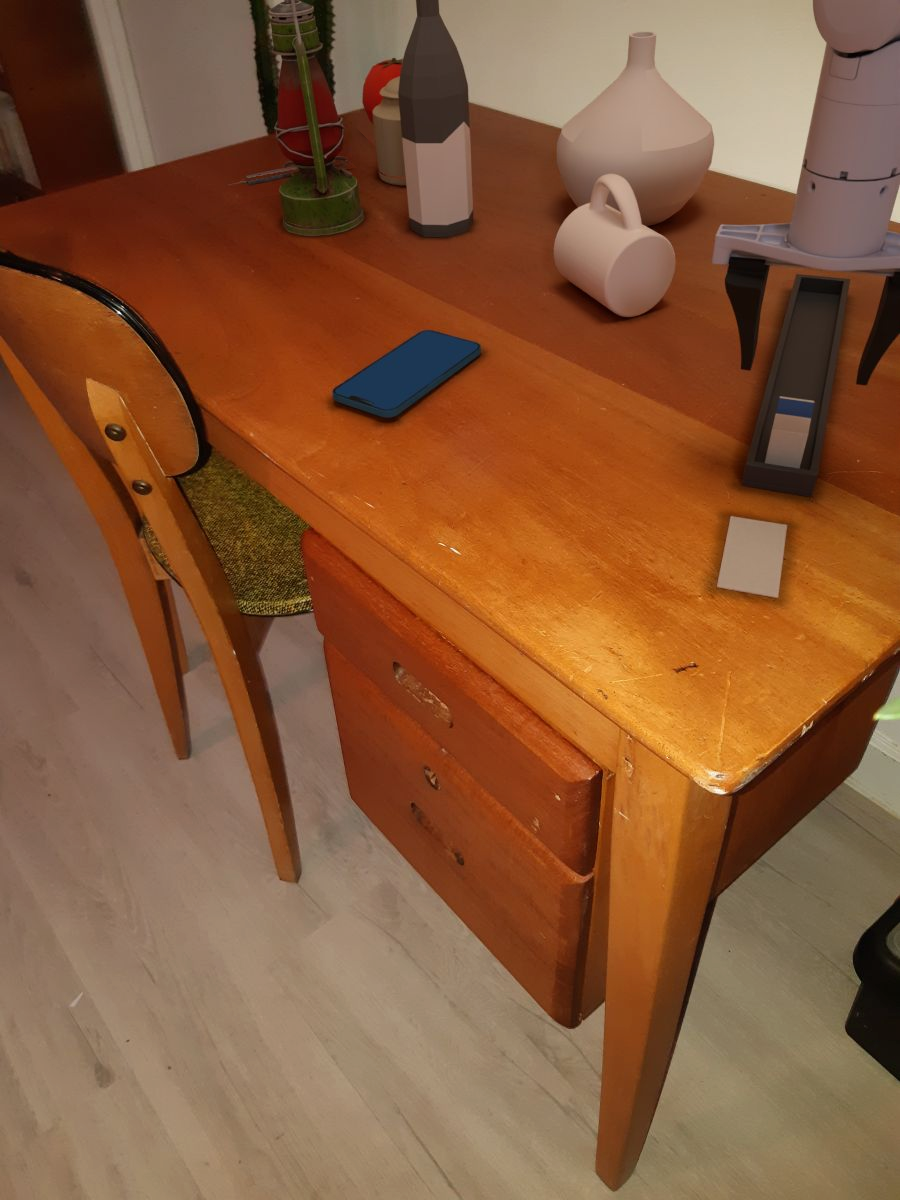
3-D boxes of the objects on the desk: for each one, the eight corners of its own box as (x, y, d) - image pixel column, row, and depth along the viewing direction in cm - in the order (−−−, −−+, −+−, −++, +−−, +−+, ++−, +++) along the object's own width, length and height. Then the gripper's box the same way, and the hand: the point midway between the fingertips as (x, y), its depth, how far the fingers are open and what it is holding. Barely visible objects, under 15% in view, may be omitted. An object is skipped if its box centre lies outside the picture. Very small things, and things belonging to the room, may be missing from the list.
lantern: (373, 232, 110) (338, -66, 90) (289, 246, 109) (233, -54, 88) (354, 196, 120) (319, -80, 99) (277, 207, 119) (225, -70, 98)
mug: (602, 326, 88) (610, 203, 80) (551, 289, 95) (553, 171, 87) (671, 306, 91) (686, 184, 82) (616, 271, 98) (624, 155, 89)
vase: (667, 253, 100) (688, 61, 87) (528, 227, 108) (528, 48, 95) (727, 199, 111) (754, 21, 98) (596, 179, 119) (605, 12, 106)
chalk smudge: (777, 598, 59) (778, 597, 59) (716, 587, 60) (716, 586, 60) (786, 526, 64) (787, 524, 64) (730, 517, 65) (730, 516, 65)
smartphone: (485, 344, 85) (390, 413, 77) (485, 353, 86) (391, 423, 77) (424, 327, 89) (326, 392, 80) (425, 336, 89) (328, 401, 81)
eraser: (798, 473, 68) (808, 434, 66) (762, 467, 69) (771, 428, 66) (805, 438, 71) (815, 400, 69) (771, 433, 72) (779, 395, 70)
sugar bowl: (356, 164, 130) (341, 46, 120) (423, 149, 133) (414, 33, 123) (398, 192, 120) (386, 67, 110) (469, 175, 123) (464, 52, 113)
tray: (811, 497, 67) (817, 475, 65) (741, 485, 68) (745, 464, 67) (845, 297, 90) (850, 278, 88) (792, 292, 91) (796, 273, 90)
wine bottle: (434, 210, 115) (413, -80, 94) (486, 219, 111) (477, -79, 90) (397, 231, 110) (367, -68, 89) (450, 243, 106) (431, -66, 86)
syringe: (222, 183, 127) (219, 171, 126) (339, 159, 132) (337, 146, 131) (235, 199, 122) (233, 186, 121) (357, 173, 127) (355, 160, 126)
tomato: (452, 123, 142) (448, 49, 135) (400, 146, 135) (393, 69, 128) (400, 114, 147) (394, 43, 140) (347, 135, 140) (338, 61, 133)
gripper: (985, 150, 53) (917, 356, 62) (738, 138, 57) (708, 332, 67) (989, 191, 48) (915, 407, 58) (720, 174, 53) (691, 377, 62)
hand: (803, 370), depth 62 cm, fingers open, 7 cm apart
